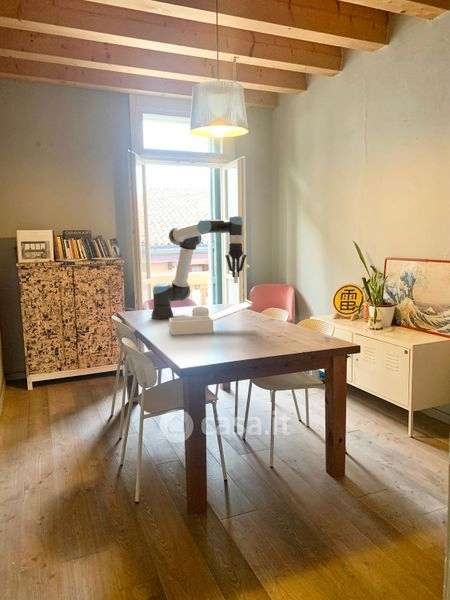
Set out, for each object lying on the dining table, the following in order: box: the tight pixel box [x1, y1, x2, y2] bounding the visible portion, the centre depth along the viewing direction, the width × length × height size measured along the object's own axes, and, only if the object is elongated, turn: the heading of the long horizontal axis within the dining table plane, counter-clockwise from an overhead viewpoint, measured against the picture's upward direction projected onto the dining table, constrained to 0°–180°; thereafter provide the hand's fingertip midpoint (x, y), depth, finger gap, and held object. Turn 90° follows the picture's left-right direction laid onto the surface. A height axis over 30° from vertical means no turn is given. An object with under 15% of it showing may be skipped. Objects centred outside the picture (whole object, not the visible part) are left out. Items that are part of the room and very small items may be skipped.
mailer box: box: [168, 315, 214, 337], centre depth 261 cm, size 13×24×8 cm, turn 104°
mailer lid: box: [209, 299, 254, 322], centre depth 265 cm, size 13×25×2 cm, turn 104°
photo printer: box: [191, 306, 210, 317], centre depth 277 cm, size 10×4×12 cm, turn 85°
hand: (235, 282), depth 265 cm, fingers closed
